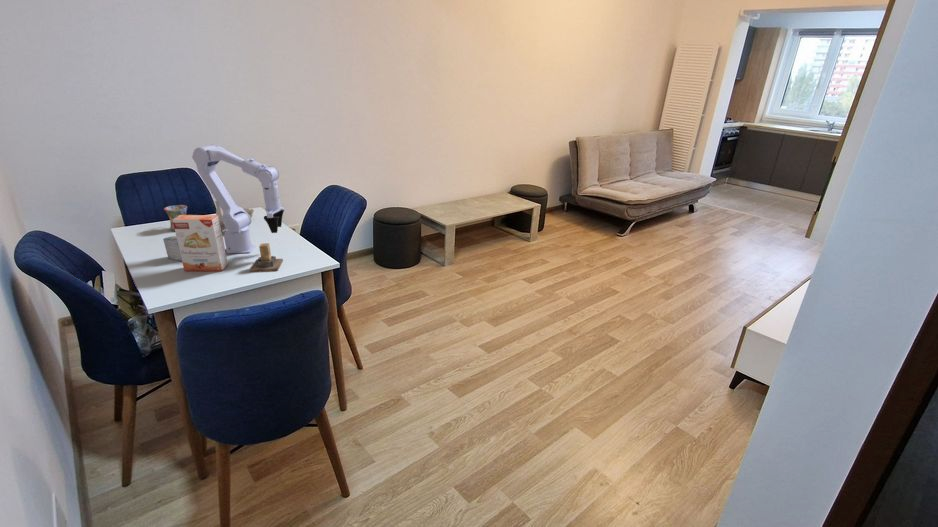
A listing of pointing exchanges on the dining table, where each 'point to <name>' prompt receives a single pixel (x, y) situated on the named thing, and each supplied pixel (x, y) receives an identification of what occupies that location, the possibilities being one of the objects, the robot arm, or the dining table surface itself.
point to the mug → (175, 213)
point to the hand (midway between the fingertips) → (276, 229)
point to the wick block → (265, 252)
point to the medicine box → (172, 248)
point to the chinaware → (220, 213)
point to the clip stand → (266, 265)
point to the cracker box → (200, 242)
